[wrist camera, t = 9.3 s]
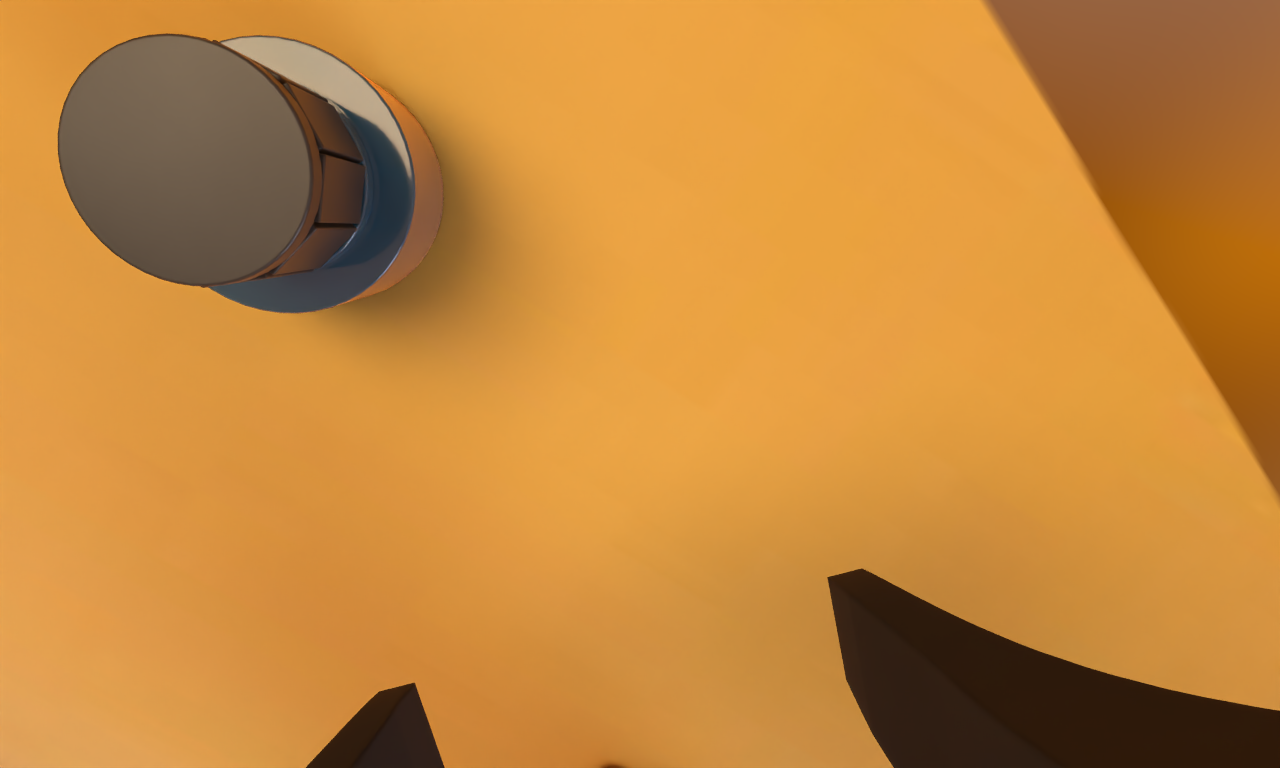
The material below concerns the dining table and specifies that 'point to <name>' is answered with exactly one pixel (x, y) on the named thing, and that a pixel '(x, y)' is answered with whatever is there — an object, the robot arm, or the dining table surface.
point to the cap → (207, 163)
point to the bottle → (392, 193)
